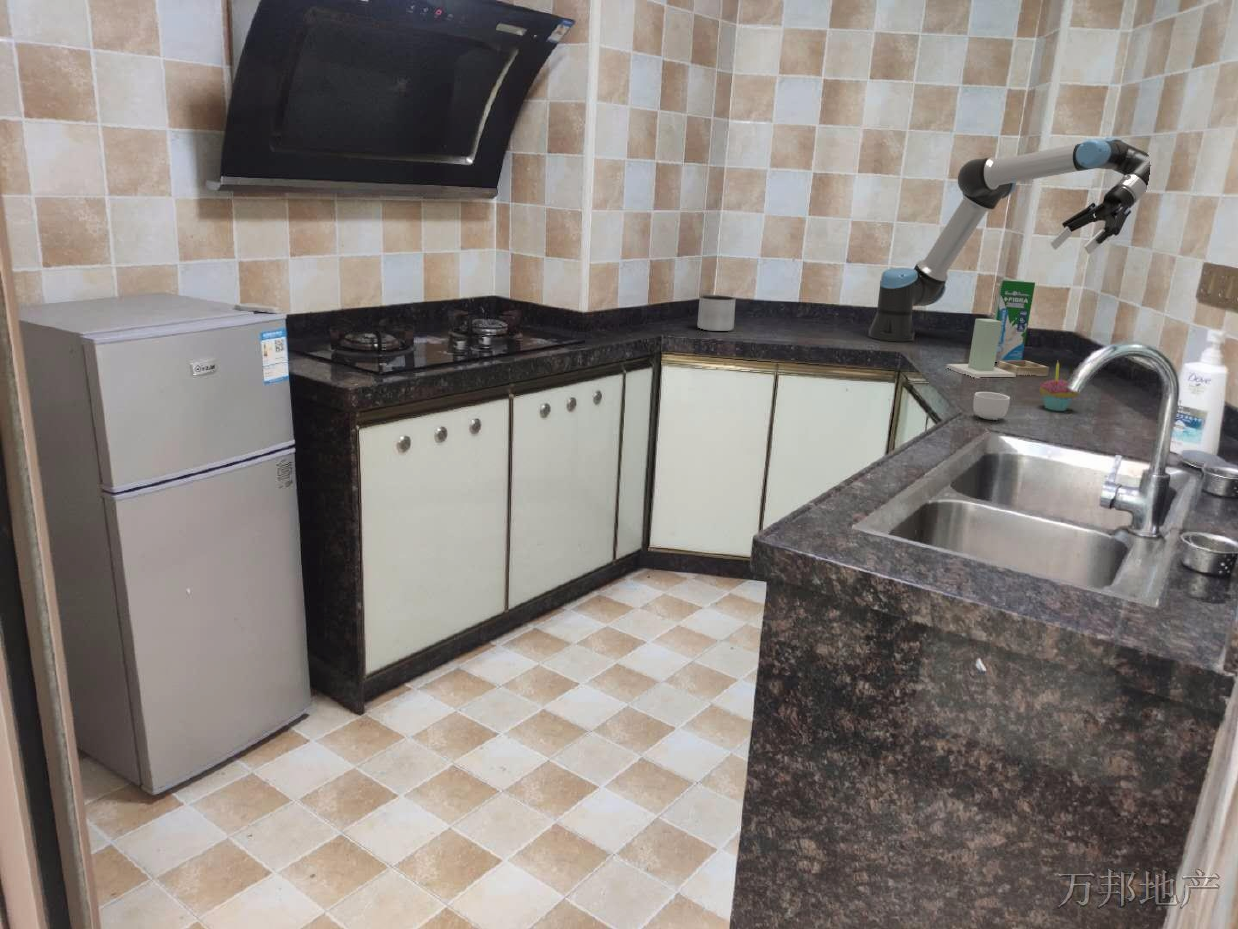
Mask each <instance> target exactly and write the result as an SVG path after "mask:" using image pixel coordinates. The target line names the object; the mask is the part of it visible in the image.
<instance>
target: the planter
mask: <svg viewBox="0 0 1238 929" xmlns="http://www.w3.org/2000/svg"><path fill="white" fill-rule="evenodd" d="M735 311H736V297H734V296H728V295H718V294H704V295H703V294H702V295H700V296H699V302H698V314H697V324H696V325H697V328H698V329H699V328H700V329H699V330H701V329H703V330H702V331H704V330H707V331H706V332H711V331H728V332H731V331H733V330H734V328H735V325H734V324H735V313H736V312H735Z"/></svg>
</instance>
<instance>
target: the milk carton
mask: <svg viewBox="0 0 1238 929" xmlns="http://www.w3.org/2000/svg"><path fill="white" fill-rule="evenodd" d="M1035 287H1036V282H1033V281H1025V280H1022V279H1010V280H1006V279H1005V280H1004V279H1003V280H1001V282H1000V285H999V287H998V288H999V289H998V295H997V300H996V308H995V312H994V319H993V320H997V321H1001V322H1002V324H1001V330H1000V336H999V342H998V348H997V354H996V360H995V362H997V361H1021V360H1023V354H1024V349H1025V344H1026V338H1027V332H1028V326H1029V321H1030V316H1031V310H1032V304H1033V298H1034V293H1035Z"/></svg>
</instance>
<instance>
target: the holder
mask: <svg viewBox="0 0 1238 929" xmlns="http://www.w3.org/2000/svg"><path fill="white" fill-rule="evenodd" d="M995 367H997V368H1000V369H1003V370H1006V371H1009V372H1012V373H1015V374H1016V375H1024V376H1023V377H1028V376H1027V375H1030V376H1029V377H1032V376H1031V375H1036V376H1035V377H1048V376H1049V371H1050V367H1049V366H1046V365H1043V364H1039V363H1036V362H1032V361H1030V360H1025V359H1024V360H1023V359H1022V360H1021V361H997V363H996V366H995ZM1025 375H1026V376H1025Z"/></svg>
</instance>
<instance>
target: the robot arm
mask: <svg viewBox="0 0 1238 929" xmlns="http://www.w3.org/2000/svg"><path fill="white" fill-rule="evenodd" d="M1146 152H1147V151H1144V150H1141V149H1139V148H1136V147H1135V146H1132V145H1130V144H1129V143H1126V142H1124V141H1123V140H1120V139H1117V138H1116V137H1115V138H1114V137H1112V136H1108V137H1106V138H1105V139H1101V138H1093V139H1091V138H1090V139H1087V140H1085V141H1083V142H1082V143H1076V144H1072V145H1066V146H1060V147H1054V148H1050V149H1044V150H1040V151H1035V152H1030V153H1025V154H1020V155H1014V156H1009V157H1004V158H998V159H997V158H996V157H994V156H991V157H987V158H986V157H985V158H975V159H971V160H969V161H967V162H966V163H965V164H964V165H963V166H962V167H961V168H960V170H959V172H958V175H957V185H958V188H959V189H960V191H961V193H962V200H961V201H960V203H959V205H958V206H957V208H956V209H955V212H954V213H953V215H952V216H951V217H950V219H949V220H948V222H947V224H946V226H945V227H944V229H943V230H942V232H941V234H940V235H939V236H938V238H937V240H936V241H935V243H934V245H933V246H932V247H931V249H930V250H929V252H928V253H927V255H926V257H925V259H922V260H919V261H917V263H916V264H915V265H914V268H910V267H900V268H895V267H894V268H889V269H885V270H884V271H883V272H882V273H881V277H880V281H879V291H878V300H877V305H876V306H877V308H876V315H875V317H874V318H873V320H872V324H871V326H870V328H869V330H868V337H869V338H871V339H875V340H881V341H887V342H899V343H900V342H902V343H903V342H912V341H914V339H915V330H914V324H913V319H912V316H913V310H914V309H913V307H925V306H930V305H933V304H935V303H937V302H939V300H941V299H942V298H943V296H944V294H945V292H946V289H947V288H946V282H947V280H948V271H949V269H950V268H951V267H952V265H953V263H954V262H955V261H956V259H957V257H958V256H959V254H960V253H961V251H962V249H963V248H964V246H965V245H966V243H967V242H968V240H969V239H970V238H971V236H972V234H973V233H974V232H975V230H976V228H977V227H978V225H979V224H980V223H981V221H982V219H983V218H984V216H985V215H986V213H987V212H990V211H993V210H994V209H995V208H996V207H997V205H998V204H999V203H1000V200H1001V199H1005V198H1006V197H1009V196H1010V195H1011V194H1012V193H1013V192H1014V190H1015V188H1016V186H1017V183H1019V182H1024V181H1031V180H1034V179H1041V178H1047V177H1053V176H1058V175H1063V174H1064V175H1065V174H1070V173H1075V172H1076V173H1077V172H1082V171H1089V170H1095V169H1102V170H1111V171H1112V170H1113V171H1115V172H1117V173H1119V174H1121V175H1123V177H1122V178H1121V179H1120V180H1119V181H1118V182H1117V183H1116V184H1115V185H1114V186H1113V187H1111V188H1110V190H1109V191H1107V192H1106V193H1105V194H1104V196H1103V201H1102V202H1101V203H1100V204H1098V205H1096V203H1095V202H1092V203H1091V204H1089V205H1088V206H1087V207H1086V208H1084V209H1082V210H1081V211H1079V212H1078V213H1076V214H1075V215H1073V216H1072V217H1070V218H1068V219H1067V220H1065V221H1064V222H1062V223H1061V225H1062V227H1063V229H1062V230H1060V232H1058V234H1057V235H1056V236H1055V237H1054V238H1053V239H1052V240H1050V242H1049V243H1050V245H1051V246H1052V248H1053V250H1058V248H1059V247H1061V246H1062V245H1063V243H1065V242H1066V240H1068V239H1069V238H1070V237H1071V236H1072V234H1073V232H1075V231H1077V230H1079V229H1081V228H1082V227H1085V226H1088V225H1089V224H1090V223H1096V222H1098V221H1099V222H1100V221H1103V222H1104V227H1102V229H1100V230H1099V231H1098V232H1097V233H1096V234H1095V235H1094V236H1093V237H1092V238H1091V239H1090V240H1089V241H1088V242H1086V244H1085V245H1084V246H1083V248H1084V249H1085V251H1086V252H1087V254H1088V255H1090V254H1092V253H1093V252H1094V251H1095V250H1096V249H1097V248H1098V247H1099V246H1100V245H1101V244H1103V242H1104V241H1106V240H1107V239H1108V238H1109V237H1110V238H1111V237H1112V236H1113V235H1114V236H1115V237H1116V236H1119V234H1120V233H1121V231H1122V228H1123V226H1124V225H1125V223H1126V220H1127V219H1128V218H1127V217H1129V215H1130V214H1132V211H1131V208H1132V207H1133V206H1134V205H1135V203H1138V201H1139V200H1140V199H1142V197H1143V196H1145V194H1146V193H1147V192H1146V190H1147V185H1148V181H1149V175H1150V166H1151V165H1150V157H1149V155H1148V154H1147V153H1148V152H1147V153H1146ZM1145 192H1146V193H1145ZM1144 193H1145V194H1144Z"/></svg>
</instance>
